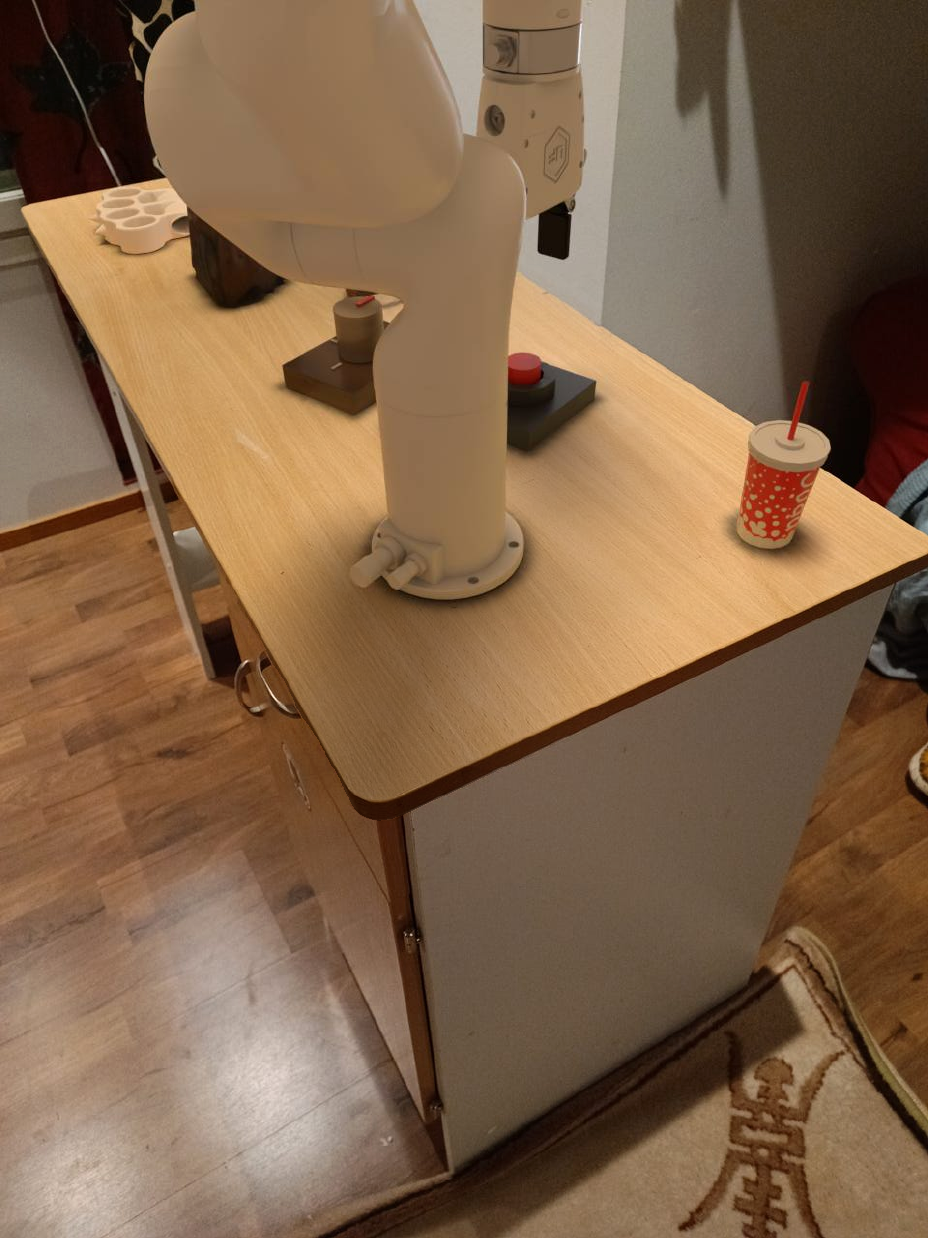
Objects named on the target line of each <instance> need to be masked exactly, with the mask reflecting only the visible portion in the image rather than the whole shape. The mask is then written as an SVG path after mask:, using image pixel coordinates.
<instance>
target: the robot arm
mask: <svg viewBox="0 0 928 1238" xmlns="http://www.w3.org/2000/svg"><path fill="white" fill-rule="evenodd" d="M583 10H584V0H482V74H483V76H482V79H481V85H480V92H479V101H478V107H477V109H478V110H477V119H476V132H475V133H476V135H472V134H468V133H464V131H463V124H462V116H461V112H460V109H459V106H458V102H457V100H456V97H455V93H454V91H453V88H452V85H451V83H450V80H449V78H448V75H447V72H446V70H445V68H444V66H443V64H442V62H441V59H440V57H439V54H438V52H437V50H436V48H435V46H434V43H433V41H432V39H431V37H430V35H429V32H428V30H427V28H426V26H425V24H424V22H423V19H422V17H421V15H420V12H419V11H418V8H417V6H416V4H415V2H414V0H194V10H193V11H191V12H188V13H186V14H184V15H182V16H180V17H178V18H177V19H175V20H174V21H173V22H171V24H169V25H168V26H167V27H166V28H165V29H164V31H163V32H162V34H160V36H159V37H158V39H157V41H156V43H155V45H154V47H153V48H152V51H151V53H150V56H149V59H148V62H147V66H146V69H145V74H144V75H145V76H144V77H145V78H144V84H143V85H144V87H143V89H144V90H143V102H144V103H143V104H144V113H145V119H146V125H147V130H148V134H149V137H150V142H151V145H152V148H153V150H154V154H155V156H156V158H157V160H158V162H159V165H160V167H161V170H162V172H163V174H164V175H165V178H166V180H167V181H168V182H169V184H170V185H171V188H173V189H174V190H175V191H176V193H177V194H178V196H179V197H180V198H181V199H182V201H183V202H184V203H185V204H186V205H187V206H188V207H189V208H190V209H191V210H192V211H193V212H194V213H196V214H197V215H198V216H199V217H200V218H201V219H203V220H204V221H205V222H206V223H208V224H209V225H210V226H211V227H213V228H214V229H215V230H217V231H218V232H219V233H220V234H222V235H223V236H224V237H225V238H227V239H228V240H229V241H231V242H232V243H233V244H235V245H236V246H237V247H238V248H240V249H241V250H242V251H244V252H245V253H246V254H248V255H249V256H250V257H252V258H253V259H254V260H256V261H257V262H258V263H259V264H261V265H262V266H264V267H265V268H266V269H268V270H270V271H271V272H273V273H275V274H277V275H279V276H281V277H283V278H285V280H289V281H292V282H295V283H299V284H304V285H305V284H306V285H312V286H319V287H329V288H336V289H344V290H346V289H352V290H361V291H369V292H374V293H377V294H376V295H383V296H389V297H394V298H397V299H398V300H399V301H401V303H402V306H403V307H402V308H401V310H400V311H399V312H398V313H397V314H396V315H395V316H394V317H393V318H392V320H391V321H390V322H389V323H390V324H389V325H388V326H387V327H386V329H385V330H384V332H383V333H382V335H381V336H380V338H379V340H378V342H377V345H376V348H375V352H374V357H373V378H374V388H375V392H376V402H375V403H376V412H377V421H378V430H379V431H378V432H379V433H378V434H379V440H380V450H381V451H380V452H381V462H382V471H383V482H384V491H385V492H384V493H385V502H386V503H385V504H386V510H387V511H386V512H387V516H385V517H384V518H383V520H381V522H379V524H378V526H377V527H376V529H375V531H374V532H373V536H372V539H371V553H370V554H368V555H364V557H362V558H361V559H360V560H358V561H357V562H356V563H354V564H353V565H352V566H351V567H350V568H349V570H348V571H349V576H350V578H351V581H353V582H354V584H355V585H356V586H357V587H359V588H361V589H366V588H367V587H369V586H370V585H371V584H372V583H373V582H375V581H376V580H377V579H379V578H380V577H382V578H383V579H384V580H385V581H386V582H387V583H388V585H389V586H390V587H391V588H392V589H394V590H396V591H398V590H400V591H403V592H404V593H407V594H410V595H413V596H417V597H420V598H423V599H424V598H425V599H432V600H459V599H467V598H470V597H471V598H472V597H474V596H478V595H481V594H484V593H487V592H489V591H491V590H493V589H495V588H497V587H499V586H500V585H502V584H503V583H505V582H507V580H509V578H511V577H512V576H513V575H514V574H515V573H516V571H517V570H518V568H519V567H520V565H521V562H522V559H523V556H524V546H525V542H524V541H525V540H524V534H523V531H522V529H521V526H520V525H519V523H518V521H516V519H515V518H514V517H513V516H512V515H511V514H510V513H509V512H508V511H506V509H507V508H506V507H507V505H506V503H507V501H506V500H507V456H508V454H507V453H508V452H507V451H508V450H507V449H508V444H507V404H508V356H509V349H510V348H509V347H510V343H509V342H510V326H511V314H512V305H513V297H514V289H515V283H516V278H517V272H518V267H519V266H518V265H519V260H520V255H521V248H522V244H523V238H524V233H525V227H526V221H527V220H529V219H532V218H535V217H536V216H538V221H537V222H538V223H537V246H536V247H537V248H536V251H537V253H538V254H539V255H542V256H546V257H549V258H554V259H557V260H561V261H565V260H567V259H568V258H569V257H570V247H571V230H572V216H573V215H572V213H573V212H574V210H575V209H576V206H577V201H576V194H577V192H578V191H579V190H580V188H581V186H582V183H583V175H584V166H585V164H586V160H587V156H588V152H587V149H585V92H584V91H585V90H584V77H583V70H582V64H581V63H580V60H581V59H580V58H581V43H582V26H583Z"/></svg>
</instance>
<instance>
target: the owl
mask: <svg viewBox="0 0 928 1238" xmlns="http://www.w3.org/2000/svg"><path fill="white" fill-rule="evenodd" d="M187 215H188V224H189V234H190V235H189V243H190V255H191V256H190V257H191V258H190V259H191V266H192V268H193V270H194V271H195V278H196V279H197V280H198V281H199V283H201V285H202V286H203V288H204V289H205V290H207V292H208V295H209V296H210V297H213V298H214V300H215V303H216V304H217V305H218V306H221V307H223V308H226V309H237V308H239V307H244V306H248V305H251V304H255V303H259V302H261V301H263V300H264V299H265V296H266V295H267V294H271V293H274V292H275V289H276V288H277V287H278V286H282V285H284V284H285V280H286V279H285V278H283V277H281V276H279V275H277V274H275V273H273V272H271V271H270V270H268V269H266V268H265V267H264V266H262V265H261V264H259V263H258V262H257V261H256V260H254V259H253V258H252V257H250V256H249V255H248V254H246V253H245V252H244V251H242V250H241V249H240V248H238V247H237V246H236V245H235V244H233V243H232V242H231V241H229V240H228V239H227V238H225V237H224V236H223V235H222V234H220V233H219V232H218V231H217V230H215V229H214V228H213V227H211V226H210V225H209V224H208V223H206V222H205V221H204V220H203V219H201V218H200V217H199V216H198V215H197V214H196V213H194V212H193V211H192V210H191V209H190V208H189V207H188V206H187Z"/></svg>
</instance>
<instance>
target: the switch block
mask: <svg viewBox="0 0 928 1238" xmlns="http://www.w3.org/2000/svg"><path fill="white" fill-rule="evenodd" d="M596 388H597V380H596V379H594V378H590V377H588V376H587V377H586V376H583V375H582V374H579V373H575V372H572V371H570V370H566V369H563V368H561V367H559V366H556V365H552V364H549V363H548V362H545V361H543V360H541V379H540V381H538V382H536V383H532V384H528V385H519V384H513V383H510V382H508V404H507V445H509V446H512V447H515V448H517V449H520V450H522V451H524V452H526V453H529V452H530V451H531V450H533V449H534V448H535V447H537V446H538V445H539V444H541V443H542V442H543V441H544V440H545V439H546V438H548V437H549V436H550V435H551V434H553V433H554V432H556V430H558V429H559V428H560V427H562V426H564V424H566V423H567V422H568V421H570V420H571V419H572V418H573V417H575V416H576V415H577V414H578V413H580V412H581V411H582V410H583V409H584V408H586V407H587V406H588V405H590V404H591V403H593V401H595V399H596Z"/></svg>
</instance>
